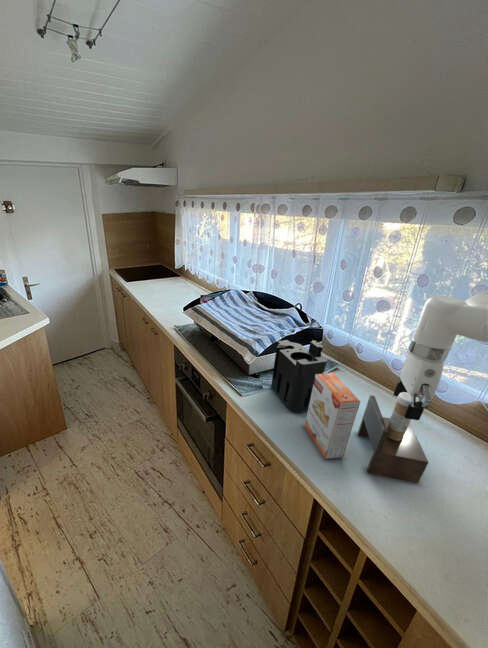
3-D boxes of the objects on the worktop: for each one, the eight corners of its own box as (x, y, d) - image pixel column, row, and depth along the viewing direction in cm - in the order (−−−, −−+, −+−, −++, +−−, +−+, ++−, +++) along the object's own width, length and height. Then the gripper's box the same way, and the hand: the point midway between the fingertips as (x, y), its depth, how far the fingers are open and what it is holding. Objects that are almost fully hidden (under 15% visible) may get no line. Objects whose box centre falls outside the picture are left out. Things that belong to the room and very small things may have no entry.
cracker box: (302, 426, 100) (314, 372, 90) (320, 425, 100) (334, 371, 90) (323, 460, 88) (339, 401, 78) (343, 458, 88) (362, 400, 78)
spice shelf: (400, 441, 94) (417, 402, 87) (417, 483, 80) (439, 441, 73) (357, 433, 97) (370, 395, 90) (367, 473, 84) (383, 431, 76)
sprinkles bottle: (395, 429, 87) (411, 391, 81) (407, 441, 83) (424, 401, 77) (380, 430, 87) (395, 391, 80) (390, 442, 83) (407, 402, 76)
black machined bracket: (292, 415, 105) (302, 360, 94) (265, 382, 123) (271, 333, 112) (322, 410, 107) (336, 355, 97) (292, 378, 125) (300, 329, 114)
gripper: (464, 369, 64) (434, 431, 72) (433, 335, 78) (411, 390, 86) (423, 364, 66) (398, 425, 74) (399, 332, 80) (381, 386, 88)
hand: (405, 406), depth 80 cm, fingers open, 9 cm apart
